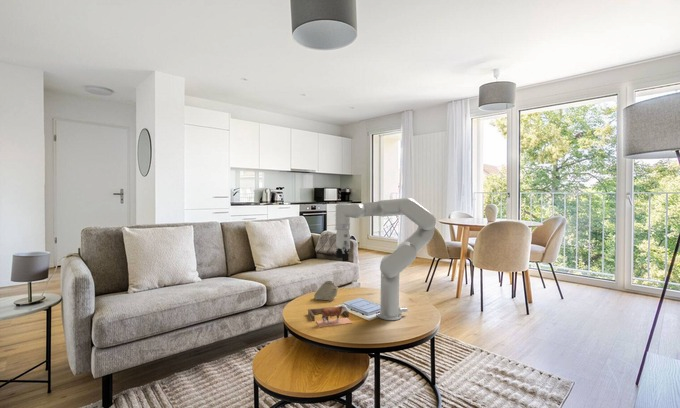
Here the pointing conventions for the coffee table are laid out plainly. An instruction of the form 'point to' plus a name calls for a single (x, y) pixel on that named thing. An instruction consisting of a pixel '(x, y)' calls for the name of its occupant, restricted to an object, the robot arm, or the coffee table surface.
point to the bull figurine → (333, 312)
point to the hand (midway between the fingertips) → (342, 259)
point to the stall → (318, 311)
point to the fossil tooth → (326, 291)
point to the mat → (334, 322)
